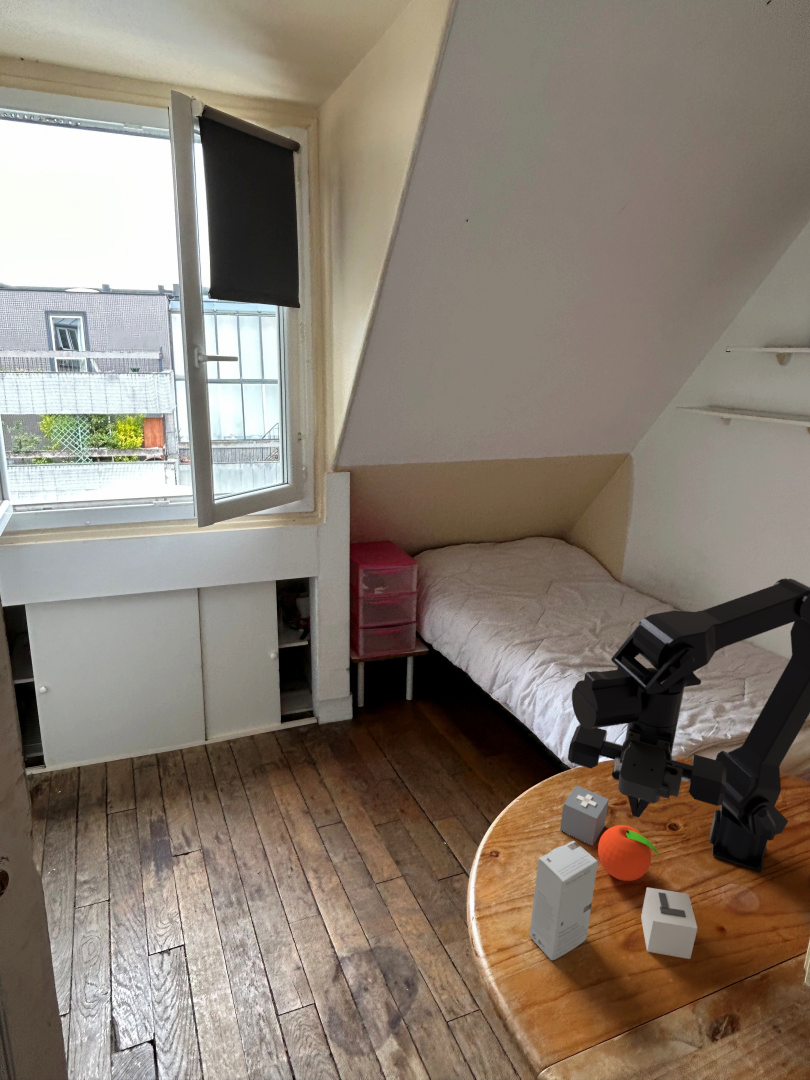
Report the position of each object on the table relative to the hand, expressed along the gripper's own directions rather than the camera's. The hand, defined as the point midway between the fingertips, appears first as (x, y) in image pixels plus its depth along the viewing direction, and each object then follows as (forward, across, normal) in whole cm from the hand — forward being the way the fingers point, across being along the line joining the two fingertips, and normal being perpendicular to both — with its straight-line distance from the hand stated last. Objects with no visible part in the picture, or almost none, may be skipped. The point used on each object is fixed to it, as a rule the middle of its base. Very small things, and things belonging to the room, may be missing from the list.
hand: (636, 814), depth 91 cm
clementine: (+10, 0, 0) cm, 10 cm away
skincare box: (+10, -6, -14) cm, 18 cm away
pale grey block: (+10, +6, -8) cm, 14 cm away
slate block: (+10, -7, +6) cm, 14 cm away
